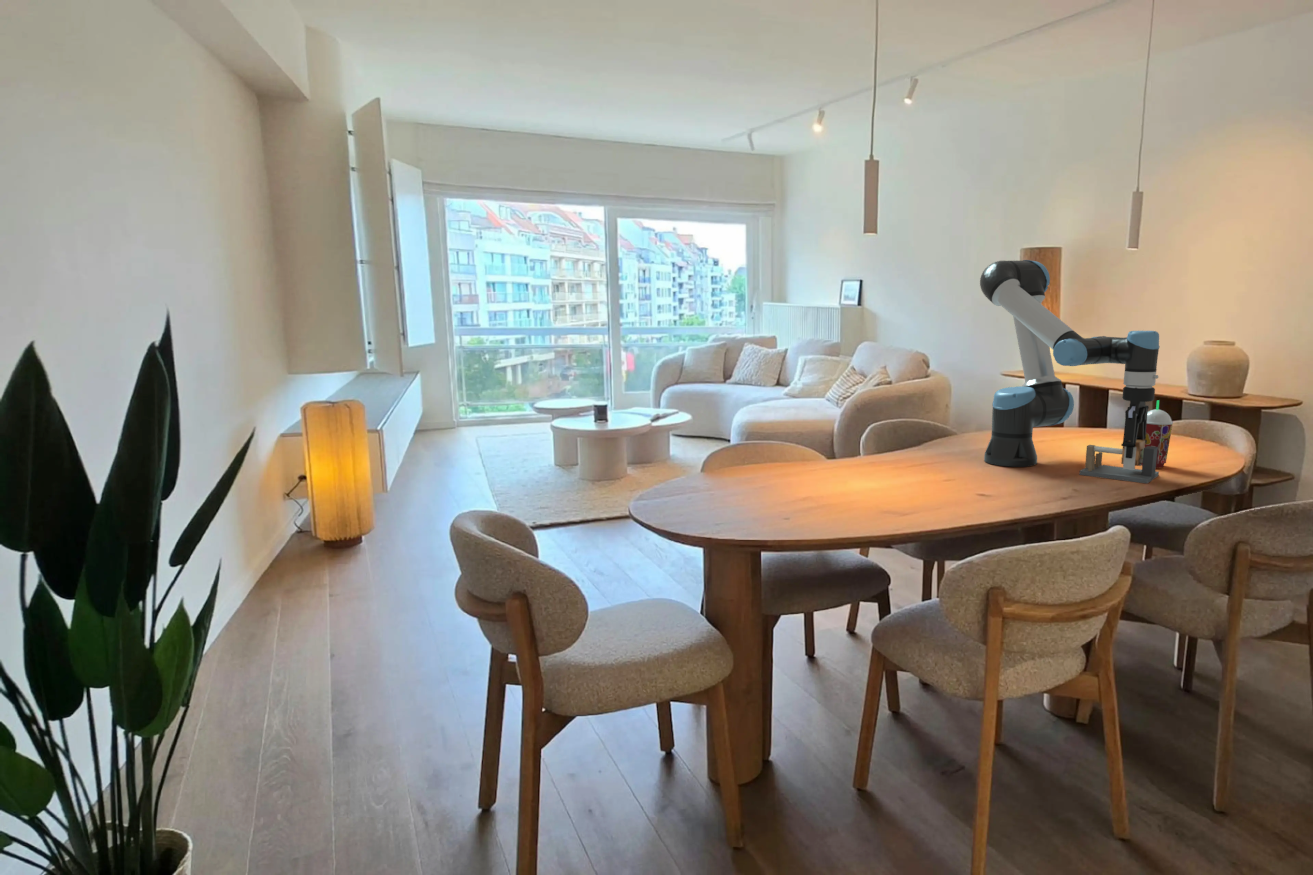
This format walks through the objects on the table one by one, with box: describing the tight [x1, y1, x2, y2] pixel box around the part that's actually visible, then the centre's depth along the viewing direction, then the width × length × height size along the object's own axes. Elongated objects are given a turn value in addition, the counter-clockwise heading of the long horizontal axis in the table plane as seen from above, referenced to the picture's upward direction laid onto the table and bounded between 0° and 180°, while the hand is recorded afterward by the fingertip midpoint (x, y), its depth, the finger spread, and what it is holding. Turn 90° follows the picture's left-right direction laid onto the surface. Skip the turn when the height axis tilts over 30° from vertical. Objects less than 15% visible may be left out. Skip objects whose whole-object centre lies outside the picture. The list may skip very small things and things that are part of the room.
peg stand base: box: [1079, 444, 1160, 484], centre depth 216 cm, size 17×12×9 cm
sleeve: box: [1120, 439, 1145, 467], centre depth 213 cm, size 4×6×6 cm, turn 134°
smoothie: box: [1141, 399, 1174, 469], centre depth 225 cm, size 8×8×20 cm
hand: (1132, 466), depth 214 cm, fingers closed on sleeve, 6 cm apart
